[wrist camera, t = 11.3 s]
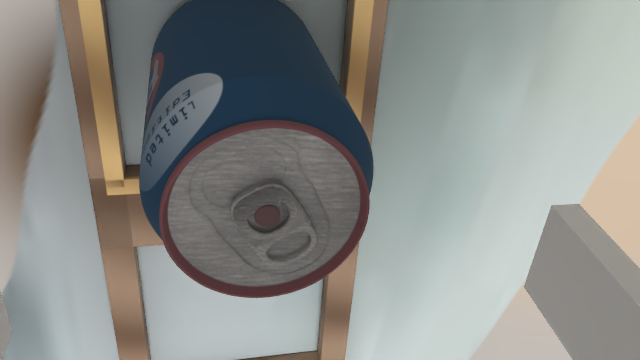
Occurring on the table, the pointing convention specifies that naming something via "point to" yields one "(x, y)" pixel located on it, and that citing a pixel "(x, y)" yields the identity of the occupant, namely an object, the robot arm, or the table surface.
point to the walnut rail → (123, 181)
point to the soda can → (251, 151)
